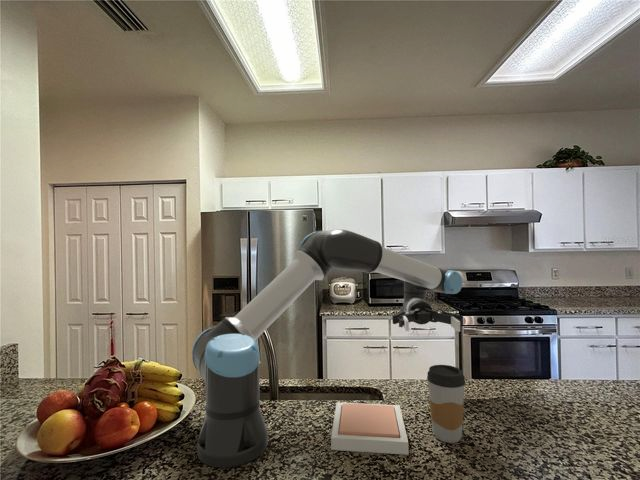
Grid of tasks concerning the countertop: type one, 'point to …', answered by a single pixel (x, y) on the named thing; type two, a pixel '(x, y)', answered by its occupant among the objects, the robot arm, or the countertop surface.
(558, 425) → the countertop surface
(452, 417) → the coffee cup
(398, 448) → the button housing
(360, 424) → the button
